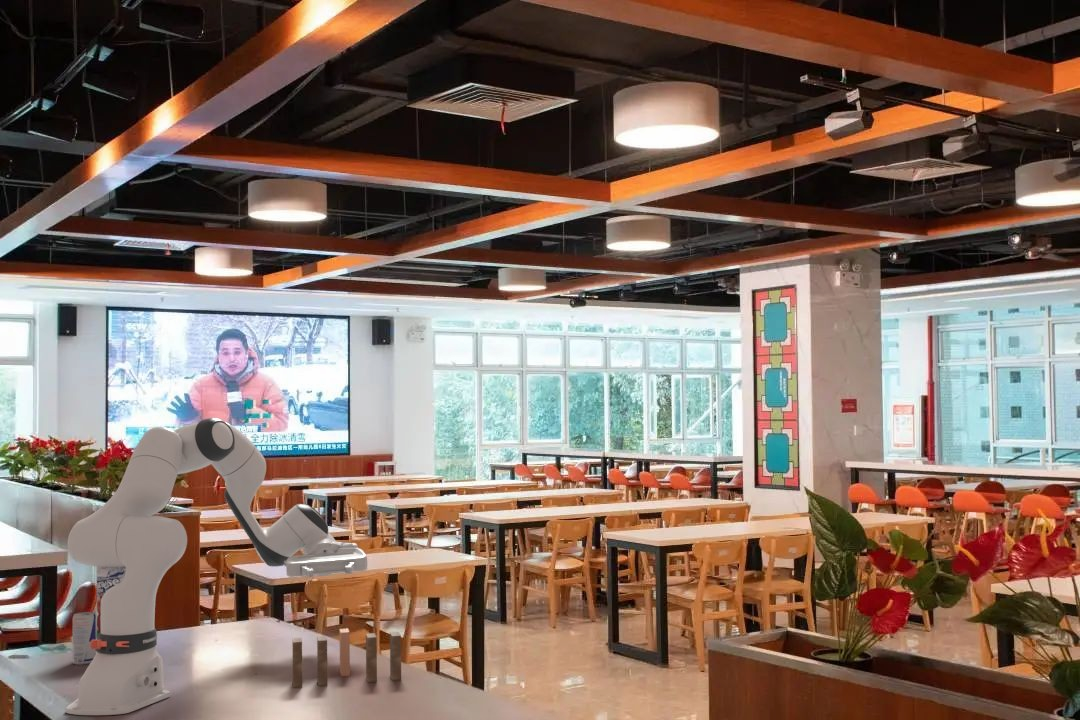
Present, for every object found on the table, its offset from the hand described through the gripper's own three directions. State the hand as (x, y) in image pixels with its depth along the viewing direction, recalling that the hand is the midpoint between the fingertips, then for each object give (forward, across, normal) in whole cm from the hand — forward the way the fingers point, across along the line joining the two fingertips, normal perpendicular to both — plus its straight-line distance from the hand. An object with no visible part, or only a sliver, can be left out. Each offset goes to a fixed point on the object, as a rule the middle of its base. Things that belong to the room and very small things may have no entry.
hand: (329, 572), depth 277 cm
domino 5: (+27, +12, +18) cm, 35 cm away
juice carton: (-27, -52, +24) cm, 63 cm away
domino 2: (+26, -5, +18) cm, 32 cm away
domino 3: (+19, +1, +19) cm, 27 cm away
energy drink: (-17, -59, +23) cm, 66 cm away
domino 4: (+27, +6, +18) cm, 33 cm away
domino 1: (+26, -10, +18) cm, 33 cm away
